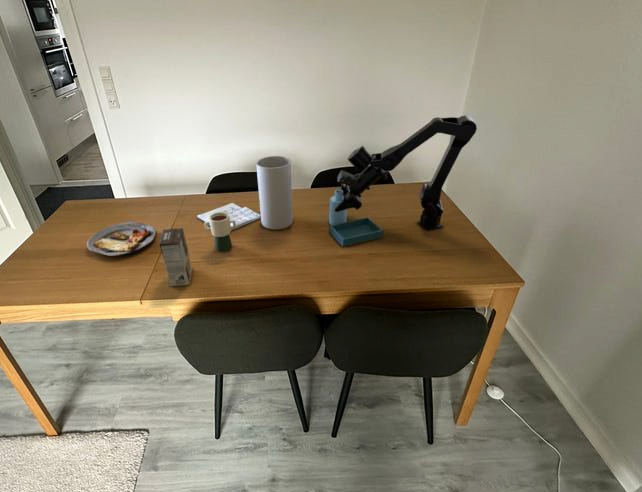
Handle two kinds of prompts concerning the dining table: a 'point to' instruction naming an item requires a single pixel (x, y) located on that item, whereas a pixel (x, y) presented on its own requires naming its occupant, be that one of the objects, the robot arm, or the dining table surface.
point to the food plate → (121, 238)
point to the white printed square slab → (234, 214)
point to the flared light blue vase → (334, 202)
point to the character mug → (221, 230)
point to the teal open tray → (355, 231)
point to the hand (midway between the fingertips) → (334, 207)
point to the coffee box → (176, 256)
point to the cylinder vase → (275, 192)
